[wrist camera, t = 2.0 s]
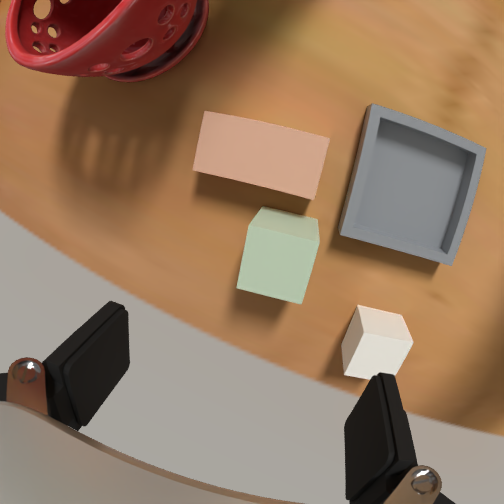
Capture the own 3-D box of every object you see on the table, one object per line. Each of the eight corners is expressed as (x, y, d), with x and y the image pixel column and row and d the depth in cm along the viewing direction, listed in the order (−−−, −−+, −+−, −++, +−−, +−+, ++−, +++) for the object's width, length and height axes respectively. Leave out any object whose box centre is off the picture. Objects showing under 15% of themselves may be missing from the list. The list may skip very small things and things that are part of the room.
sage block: (317, 219, 25) (319, 242, 19) (303, 269, 27) (301, 304, 21) (262, 205, 25) (248, 224, 20) (252, 256, 27) (236, 287, 21)
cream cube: (401, 314, 26) (413, 342, 22) (383, 352, 28) (390, 382, 24) (357, 304, 27) (364, 332, 23) (341, 344, 28) (344, 374, 24)
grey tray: (474, 147, 20) (486, 148, 18) (443, 257, 24) (451, 266, 22) (367, 106, 21) (372, 103, 19) (337, 227, 25) (339, 234, 23)
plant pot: (237, 63, 22) (178, 7, 11) (101, 107, 25) (1, 105, 13) (213, -52, 18) (161, -125, 7) (91, -1, 21) (10, -33, 10)
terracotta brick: (327, 139, 23) (330, 138, 20) (313, 193, 25) (313, 200, 22) (216, 113, 24) (204, 110, 21) (205, 166, 25) (192, 170, 23)
